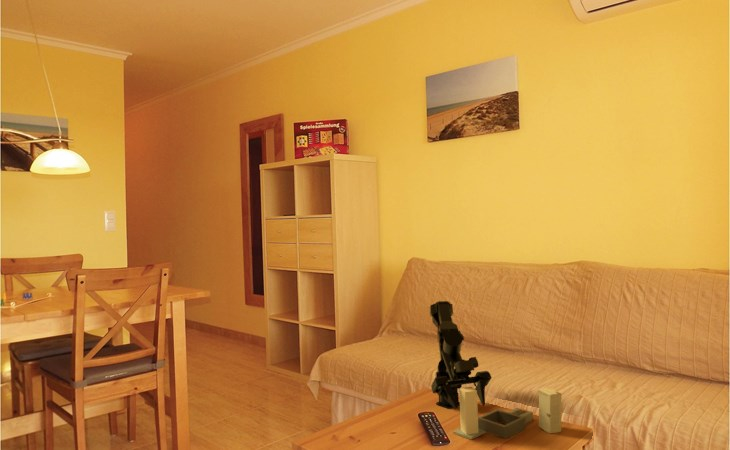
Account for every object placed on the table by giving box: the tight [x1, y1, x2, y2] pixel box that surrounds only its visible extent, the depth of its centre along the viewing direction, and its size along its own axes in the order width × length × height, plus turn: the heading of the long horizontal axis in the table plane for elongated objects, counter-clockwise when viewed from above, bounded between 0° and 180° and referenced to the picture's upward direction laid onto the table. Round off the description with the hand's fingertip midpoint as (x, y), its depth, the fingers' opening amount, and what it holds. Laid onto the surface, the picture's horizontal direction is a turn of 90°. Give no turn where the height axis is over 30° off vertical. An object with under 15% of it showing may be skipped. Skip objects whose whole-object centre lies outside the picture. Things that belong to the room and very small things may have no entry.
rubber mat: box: [452, 427, 487, 440], centre depth 168 cm, size 7×7×1 cm
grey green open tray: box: [478, 407, 534, 440], centre depth 173 cm, size 10×18×4 cm, turn 130°
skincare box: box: [538, 387, 562, 434], centre depth 168 cm, size 6×4×12 cm
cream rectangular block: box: [458, 386, 479, 435], centre depth 168 cm, size 4×4×13 cm
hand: (470, 407), depth 166 cm, fingers open, 9 cm apart
